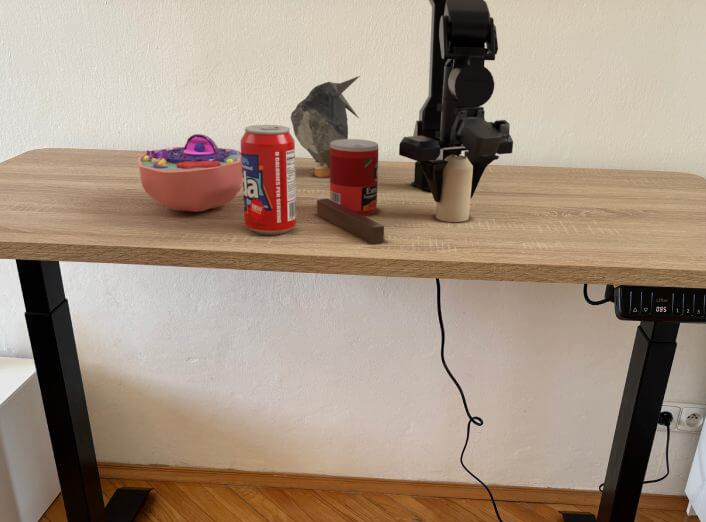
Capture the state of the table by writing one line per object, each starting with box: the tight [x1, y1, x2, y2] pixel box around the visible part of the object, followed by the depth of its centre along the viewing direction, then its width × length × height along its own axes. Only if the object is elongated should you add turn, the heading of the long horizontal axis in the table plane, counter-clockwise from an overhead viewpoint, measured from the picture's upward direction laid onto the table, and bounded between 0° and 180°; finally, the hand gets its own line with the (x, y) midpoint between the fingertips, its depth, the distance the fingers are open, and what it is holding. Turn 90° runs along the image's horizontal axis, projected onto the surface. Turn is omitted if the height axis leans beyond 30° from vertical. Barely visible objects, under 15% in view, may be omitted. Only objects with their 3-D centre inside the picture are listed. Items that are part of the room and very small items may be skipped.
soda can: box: [240, 124, 297, 236], centre depth 117 cm, size 8×8×15 cm
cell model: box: [136, 133, 243, 213], centre depth 127 cm, size 17×20×11 cm
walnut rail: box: [316, 198, 385, 245], centre depth 122 cm, size 2×18×2 cm, turn 31°
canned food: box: [329, 138, 379, 216], centre depth 130 cm, size 8×8×11 cm
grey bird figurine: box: [290, 75, 361, 178], centre depth 153 cm, size 14×15×18 cm
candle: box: [435, 154, 473, 223], centre depth 127 cm, size 6×6×10 cm
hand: (453, 199), depth 128 cm, fingers open, 6 cm apart
